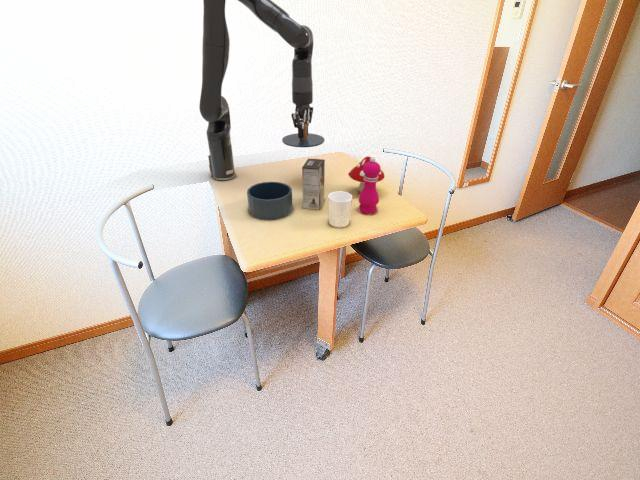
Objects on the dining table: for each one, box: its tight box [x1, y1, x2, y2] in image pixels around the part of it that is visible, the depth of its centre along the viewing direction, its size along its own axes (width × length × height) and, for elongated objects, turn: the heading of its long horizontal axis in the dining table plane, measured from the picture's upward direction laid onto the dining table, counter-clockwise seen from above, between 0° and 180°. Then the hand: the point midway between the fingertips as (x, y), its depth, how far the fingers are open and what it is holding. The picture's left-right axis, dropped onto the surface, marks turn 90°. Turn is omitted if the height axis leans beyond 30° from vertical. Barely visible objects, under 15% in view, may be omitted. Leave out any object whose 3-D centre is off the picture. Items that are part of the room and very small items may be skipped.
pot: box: [246, 181, 293, 221], centre depth 127 cm, size 16×16×8 cm
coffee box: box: [301, 158, 326, 210], centre depth 129 cm, size 9×6×16 cm
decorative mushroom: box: [347, 156, 385, 193], centre depth 138 cm, size 14×14×15 cm
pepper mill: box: [358, 156, 382, 215], centre depth 124 cm, size 7×7×20 cm
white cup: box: [327, 190, 353, 228], centre depth 119 cm, size 8×8×10 cm
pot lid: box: [281, 123, 326, 148], centre depth 137 cm, size 17×17×7 cm
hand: (303, 136), depth 138 cm, fingers closed on pot lid, 3 cm apart
